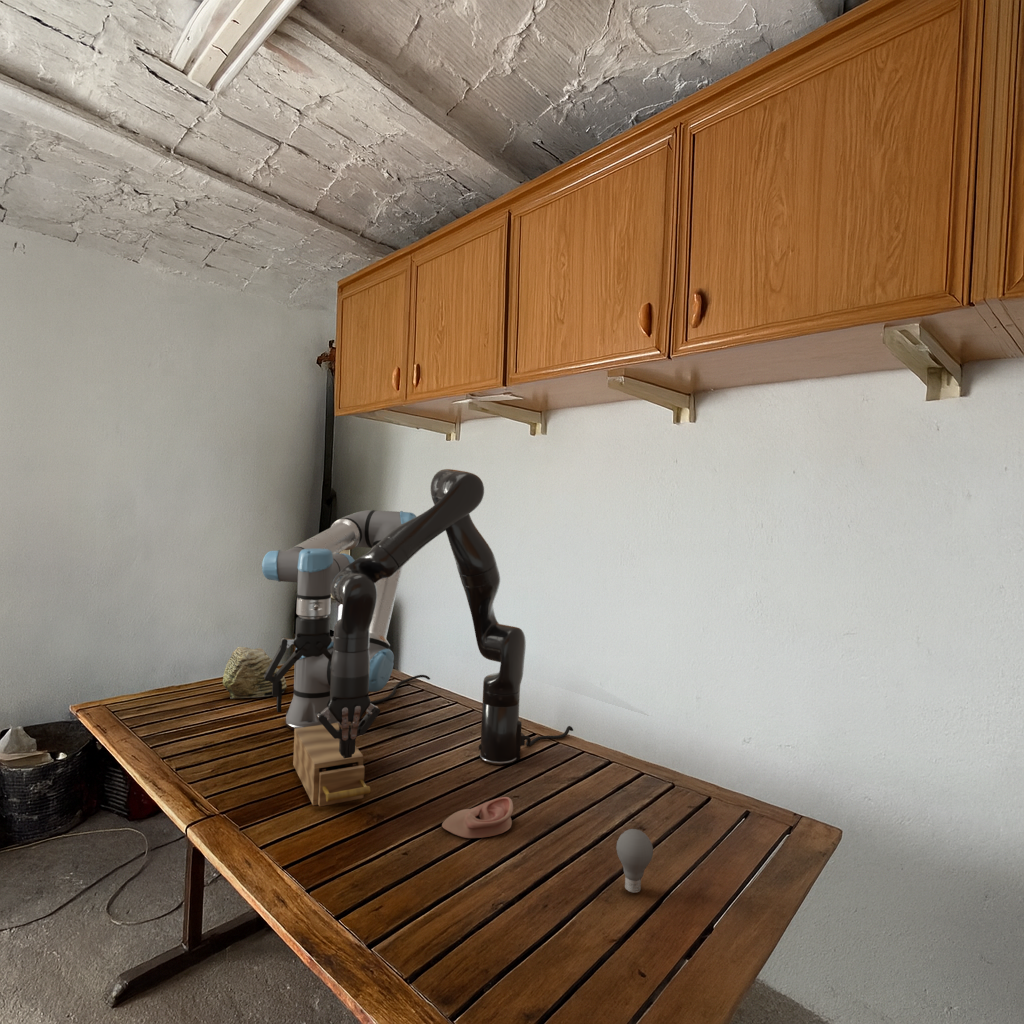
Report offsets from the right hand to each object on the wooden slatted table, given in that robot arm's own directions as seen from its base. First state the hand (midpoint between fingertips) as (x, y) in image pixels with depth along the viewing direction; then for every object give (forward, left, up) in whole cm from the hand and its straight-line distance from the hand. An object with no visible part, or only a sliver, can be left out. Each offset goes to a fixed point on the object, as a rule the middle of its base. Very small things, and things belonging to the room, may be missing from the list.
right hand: (346, 756), depth 127 cm
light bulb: (-41, +41, -12) cm, 59 cm away
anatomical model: (-24, +13, -12) cm, 29 cm away
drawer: (+1, -10, -10) cm, 15 cm away
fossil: (+16, -83, -12) cm, 86 cm away
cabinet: (+2, -16, -12) cm, 20 cm away
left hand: (+5, -23, +3) cm, 24 cm away
